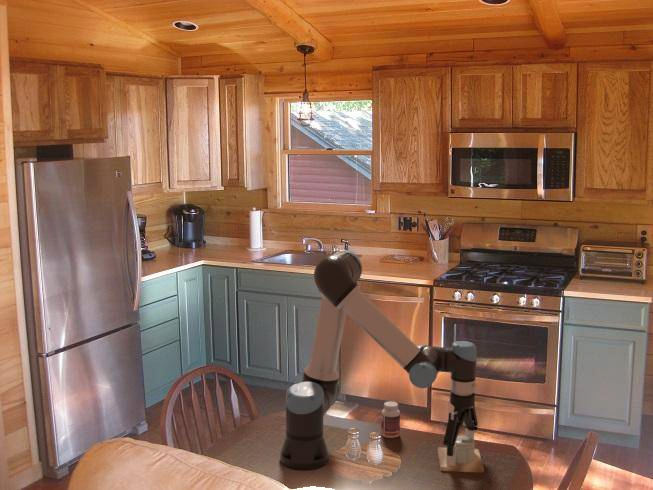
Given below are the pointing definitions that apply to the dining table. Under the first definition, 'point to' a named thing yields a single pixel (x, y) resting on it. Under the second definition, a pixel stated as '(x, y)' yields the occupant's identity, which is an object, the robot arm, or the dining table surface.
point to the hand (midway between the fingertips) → (460, 457)
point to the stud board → (470, 467)
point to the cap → (464, 450)
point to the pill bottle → (390, 420)
